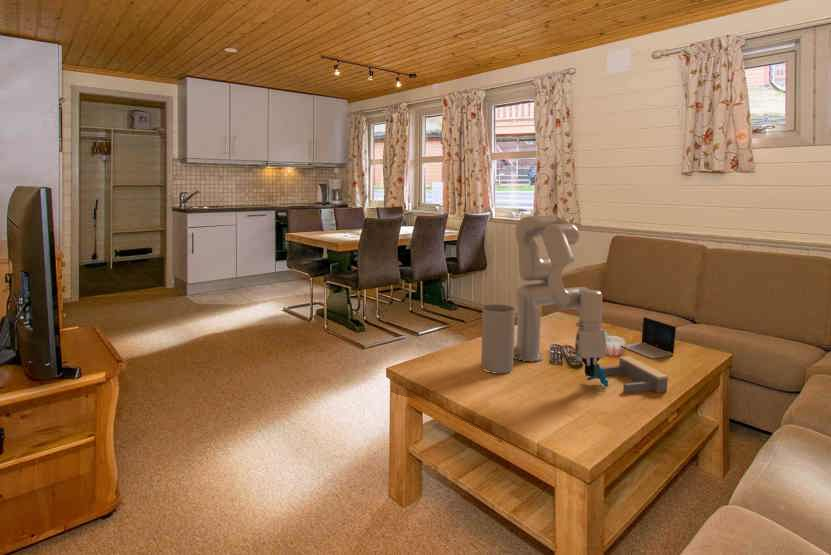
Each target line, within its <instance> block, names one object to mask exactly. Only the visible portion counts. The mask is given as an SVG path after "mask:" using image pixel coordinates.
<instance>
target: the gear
mask: <svg viewBox="0 0 831 555" xmlns="http://www.w3.org/2000/svg"><path fill="white" fill-rule="evenodd" d="M600 367H601V366H600V364H599V363H598V362H597V363H596V365H595V372H594V376H590V377H589V376H588V375H586V374H584V375H585V377H587V378H586V379H587V381H588V382H589V381H591V380H592V379H595V378H596V379H598V380H599V381H600V383H601V384H602V385H603V387H605V388H606V387H607V388H608V387H609V381H608V379H607V376H606V375H604V374H603V370H602V368H600Z"/></svg>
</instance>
